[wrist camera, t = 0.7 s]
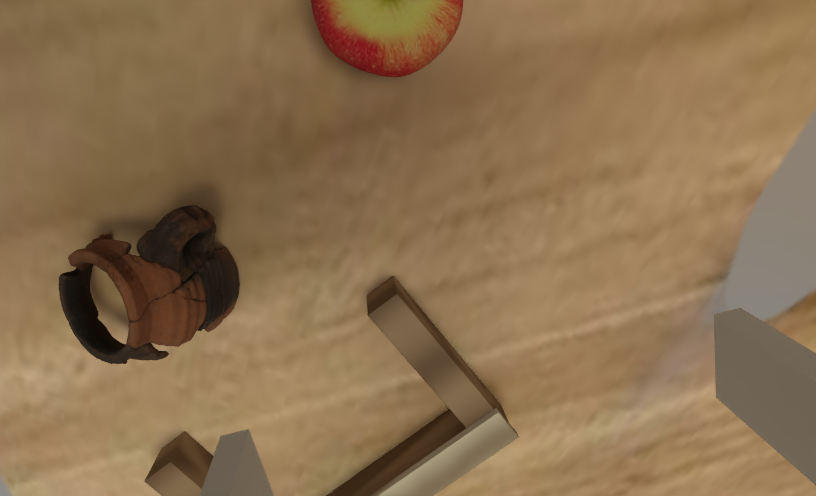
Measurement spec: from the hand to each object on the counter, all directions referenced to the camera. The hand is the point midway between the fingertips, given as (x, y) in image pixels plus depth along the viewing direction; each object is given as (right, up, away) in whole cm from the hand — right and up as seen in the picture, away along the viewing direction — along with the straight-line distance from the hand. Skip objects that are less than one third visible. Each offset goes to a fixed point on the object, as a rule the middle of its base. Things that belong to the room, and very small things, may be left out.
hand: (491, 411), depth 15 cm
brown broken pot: (-19, +3, +23) cm, 30 cm away
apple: (-4, +20, +19) cm, 28 cm away
